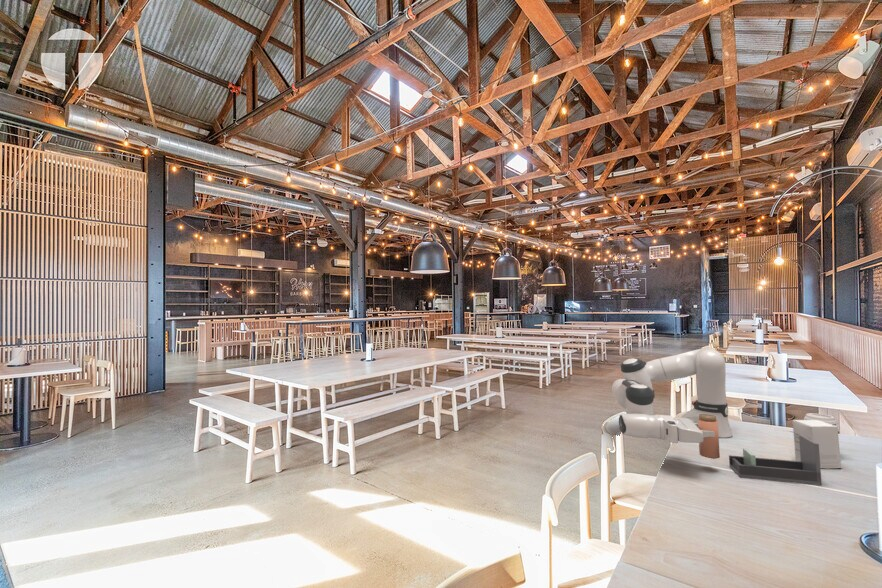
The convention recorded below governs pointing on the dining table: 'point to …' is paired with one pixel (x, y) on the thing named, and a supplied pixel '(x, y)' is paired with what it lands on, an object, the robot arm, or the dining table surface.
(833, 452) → the supplement box
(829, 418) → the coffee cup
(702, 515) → the dining table surface
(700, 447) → the jar
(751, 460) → the pusher plate
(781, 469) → the tray
